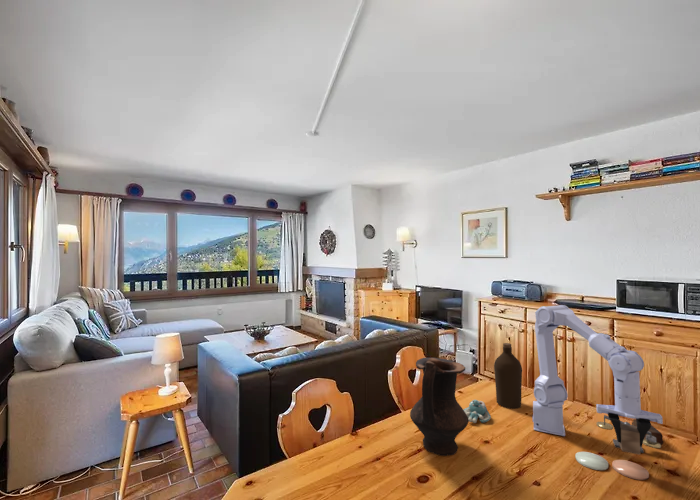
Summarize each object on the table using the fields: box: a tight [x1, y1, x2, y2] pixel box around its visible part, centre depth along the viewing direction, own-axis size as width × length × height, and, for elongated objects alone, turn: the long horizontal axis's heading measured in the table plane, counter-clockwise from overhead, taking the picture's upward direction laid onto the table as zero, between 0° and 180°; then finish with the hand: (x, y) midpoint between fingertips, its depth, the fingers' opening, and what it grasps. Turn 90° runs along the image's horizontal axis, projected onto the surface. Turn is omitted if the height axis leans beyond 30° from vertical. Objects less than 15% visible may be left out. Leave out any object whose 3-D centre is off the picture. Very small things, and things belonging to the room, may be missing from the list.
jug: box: [409, 357, 470, 457], centre depth 110 cm, size 21×18×30 cm
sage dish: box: [574, 451, 609, 471], centre depth 101 cm, size 8×8×1 cm
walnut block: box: [619, 424, 641, 456], centre depth 97 cm, size 4×4×6 cm
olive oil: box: [493, 342, 523, 410], centre depth 143 cm, size 11×11×25 cm
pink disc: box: [611, 459, 650, 481], centre depth 97 cm, size 8×8×1 cm
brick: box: [631, 419, 664, 448], centre depth 114 cm, size 11×4×5 cm, turn 164°
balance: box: [595, 414, 662, 454], centre depth 109 cm, size 16×4×9 cm, turn 60°
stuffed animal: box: [462, 399, 492, 424], centre depth 130 cm, size 11×7×12 cm
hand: (629, 442), depth 97 cm, fingers closed on walnut block, 4 cm apart
